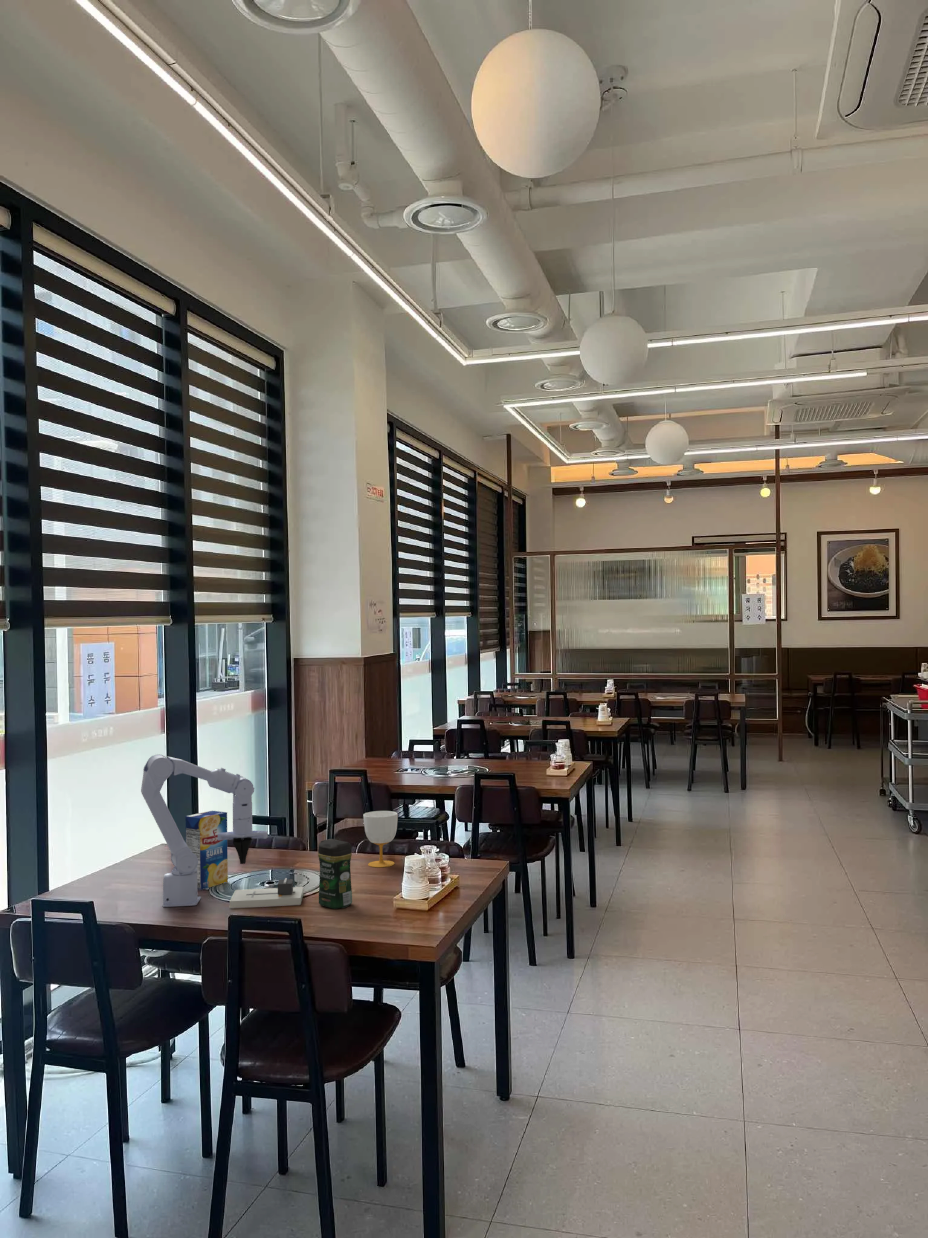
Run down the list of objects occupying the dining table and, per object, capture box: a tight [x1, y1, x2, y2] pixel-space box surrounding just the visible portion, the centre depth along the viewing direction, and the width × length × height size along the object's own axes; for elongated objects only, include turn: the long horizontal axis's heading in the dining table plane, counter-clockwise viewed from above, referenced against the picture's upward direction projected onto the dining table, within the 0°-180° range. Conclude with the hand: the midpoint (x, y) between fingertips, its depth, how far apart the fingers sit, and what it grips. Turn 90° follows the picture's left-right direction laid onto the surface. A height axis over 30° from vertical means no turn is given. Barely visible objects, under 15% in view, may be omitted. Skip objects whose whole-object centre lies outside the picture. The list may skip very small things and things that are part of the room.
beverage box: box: [184, 810, 229, 891], centre depth 283 cm, size 7×11×22 cm, turn 147°
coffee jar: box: [317, 838, 353, 910], centre depth 258 cm, size 10×8×19 cm
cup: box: [362, 810, 399, 869], centre depth 305 cm, size 12×12×17 cm
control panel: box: [229, 886, 304, 909], centre depth 263 cm, size 20×12×2 cm, turn 96°
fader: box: [277, 877, 294, 895], centre depth 264 cm, size 4×5×3 cm
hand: (242, 863), depth 270 cm, fingers closed
